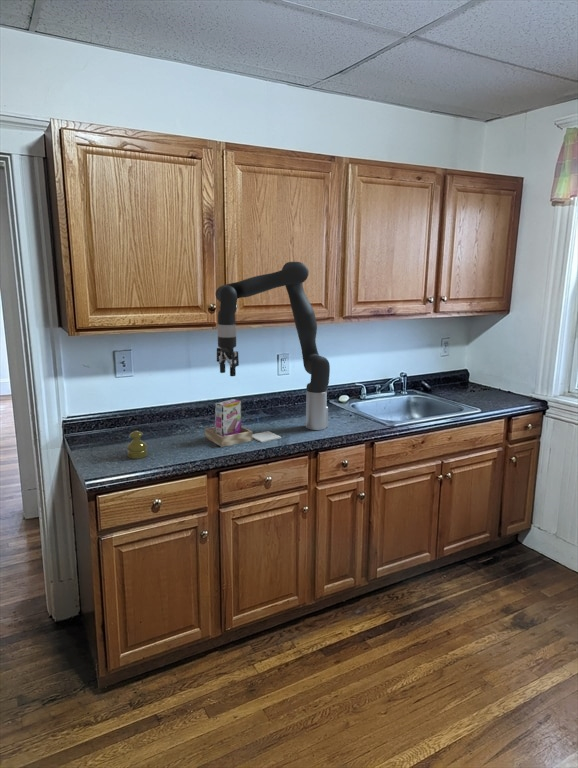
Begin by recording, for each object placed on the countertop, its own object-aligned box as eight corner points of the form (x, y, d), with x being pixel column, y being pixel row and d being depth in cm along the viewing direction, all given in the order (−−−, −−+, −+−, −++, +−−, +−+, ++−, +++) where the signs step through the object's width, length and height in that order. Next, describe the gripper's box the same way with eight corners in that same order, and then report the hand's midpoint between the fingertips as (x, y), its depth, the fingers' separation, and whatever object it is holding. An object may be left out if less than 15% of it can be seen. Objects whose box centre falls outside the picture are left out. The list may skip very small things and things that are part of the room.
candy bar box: (223, 443, 218) (222, 405, 215) (214, 441, 222) (214, 403, 218) (242, 437, 227) (241, 400, 223) (233, 434, 230) (233, 398, 226)
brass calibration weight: (149, 452, 207) (148, 428, 205) (144, 459, 200) (143, 434, 198) (130, 452, 207) (128, 428, 205) (125, 459, 200) (123, 434, 198)
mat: (268, 432, 234) (268, 431, 233) (281, 438, 226) (281, 437, 225) (249, 436, 228) (249, 435, 228) (261, 442, 220) (261, 441, 220)
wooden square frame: (235, 431, 234) (234, 423, 233) (252, 440, 223) (252, 431, 222) (205, 437, 226) (205, 428, 225) (221, 446, 214) (221, 437, 213)
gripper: (243, 336, 211) (244, 376, 215) (226, 333, 222) (227, 370, 226) (227, 338, 207) (228, 378, 210) (210, 334, 218) (211, 372, 222)
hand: (227, 374), depth 218 cm, fingers open, 8 cm apart
